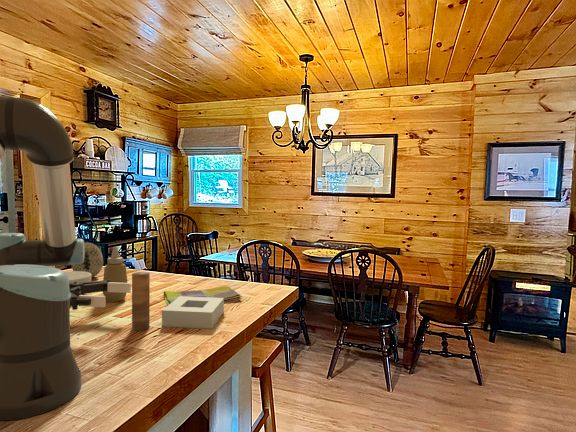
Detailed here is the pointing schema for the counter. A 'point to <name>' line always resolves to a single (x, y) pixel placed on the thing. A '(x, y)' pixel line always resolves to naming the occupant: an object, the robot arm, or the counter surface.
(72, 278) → the cereal bowl
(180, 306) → the socket block
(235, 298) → the dish towel
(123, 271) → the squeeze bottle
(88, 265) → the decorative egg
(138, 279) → the walnut dowel
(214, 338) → the counter surface
